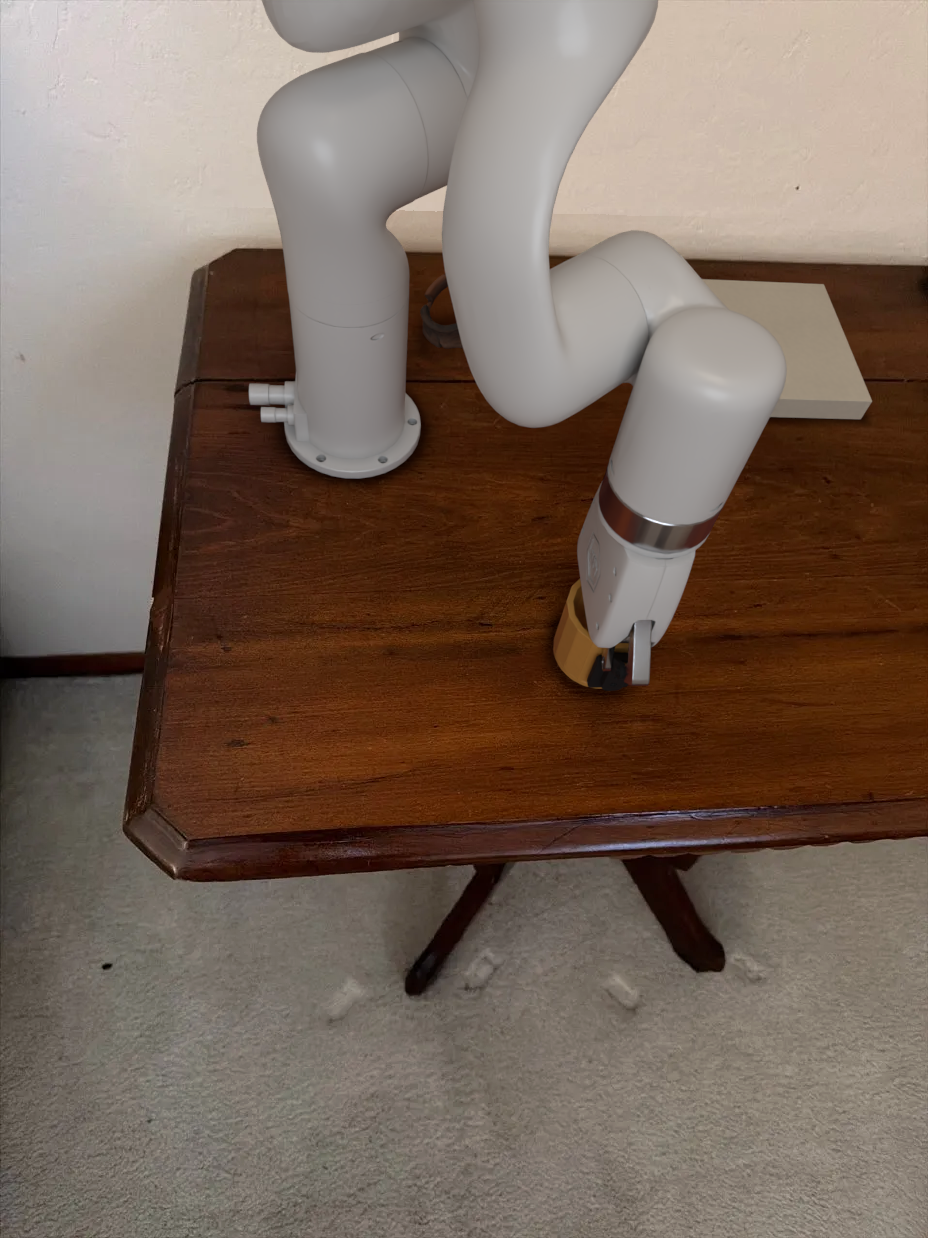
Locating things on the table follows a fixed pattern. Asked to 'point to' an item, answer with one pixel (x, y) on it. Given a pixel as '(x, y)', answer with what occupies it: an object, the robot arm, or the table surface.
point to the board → (803, 346)
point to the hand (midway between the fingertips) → (600, 640)
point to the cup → (577, 639)
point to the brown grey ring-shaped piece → (432, 331)
